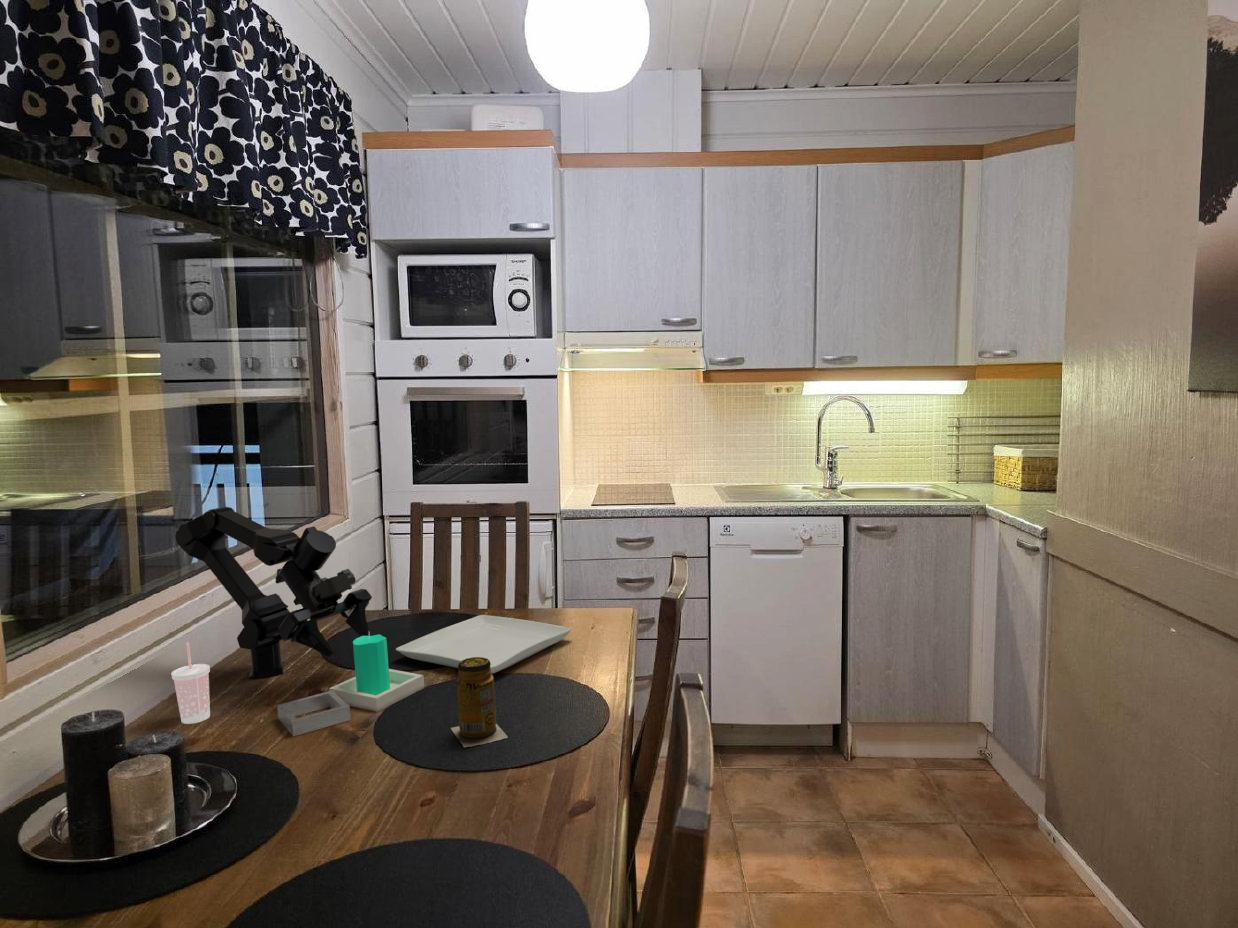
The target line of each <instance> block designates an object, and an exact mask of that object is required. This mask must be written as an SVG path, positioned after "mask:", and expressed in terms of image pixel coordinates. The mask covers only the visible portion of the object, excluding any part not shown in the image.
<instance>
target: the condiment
mask: <svg viewBox="0 0 1238 928" xmlns="http://www.w3.org/2000/svg"><path fill="white" fill-rule="evenodd" d="M490 665H491V664H490V661H489V660H488V659H487V658H483V657H472V658H467V659H464V660H462V661H461V662H460V663H459V665H458V668H457V669H458V673H457V676H458V678H457V680H456V691H457V693H456V695H457V707H458V708H457V711H458V722H459V723H458V724H459V725H458V726H454V727H450V729H451V731H452V732H453V734H454V735H455V737H456V738H457V739H458V741H459V742H460V744H461V745H462V747H463V748H468V747H470V748H471V747H475V746H478V745H479V746H480V745H481V746H482V745H485V744H488V743H489V744H490V743H494V742H495V741H501V740H504V739H505V740H506V739H508V738H509V737H508V735H507V734H506V732H505V731H503V729H502V728H501V727H500V726H499V725H498V723H497V707H496V697H495V696H496V695H495V694H496V693H495V689H496V687H495V680H494V679H495V678H494V675H493V673H492V674H491V668H490Z"/></svg>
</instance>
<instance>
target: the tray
mask: <svg viewBox="0 0 1238 928" xmlns="http://www.w3.org/2000/svg"><path fill="white" fill-rule="evenodd" d="M389 678H390V689H389V690H387V691H385V692H383V693H381V694H378V695H372V694H367V693H362V692H357V687H356V676H354V677H352V678H349V679H347V680H345V681H342V682H341V683H338V684H335V685H334V686H332V687H331V686H330V687H329V688H328V692H329V691H333V692H334V693H336V694H337V695H338V696H339V697H340V698H341V699H342V700H343V701H344V702H346V703H347V704H348V705H349V706H350V707H354V708H359V709H362V710H367V711H371V712H375V713H377V712H381V711H382V710H383V709H386V708H388V707H390V706H392V705H393V704H396V703H397V702H399V701H400V702H401V700H403V699H405V698H407V697H409V696H412V695H413V694H415V693H417V692H419V691H421V690H423V689H425V680H424V679H425V676H424V674H419V673H413V672H409V671H403V670H397V669H392V668H389Z"/></svg>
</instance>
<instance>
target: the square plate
mask: <svg viewBox="0 0 1238 928" xmlns="http://www.w3.org/2000/svg"><path fill="white" fill-rule="evenodd" d="M572 630H573V627H569V626H564V625H556V624H552V623H551V624H550V623H546V622H540V621H534V620H533V621H532V620H526V619H520V618H513V617H505V616H497V615H487V614H480V615H477V616H473V617H472V618H469V619H466V620H463V621H461V622H458V623H455V624H452V625H449V626H446V627H443V628H441V629H438V630H435V631H433V632H431V633H428V634H426V635H424V636H421V637H419V638H416V639H414V640H411V641H409V642H407V643H405V644H403V645H400V646H398V647H396V648H395V651H397V652H399V653H400V654H401V655H403V656H405V657H407V658H409V659H413V660H417V661H421V662H425V663H432V664H436V665H442V666H445V667H450V668H451V667H452V668H455V669H458V665H459V663H460V662H461V661H462V660H464V659H467V658H472V657H483V658H487V659H488V660H489V661H490V664H491V665H490V668H491V674H492V675H493V674H495V673H498V672H500V671H503V670H505V669H507V668H510V667H511V666H513V665H515V664H517V663H519V662H521V661H523V660H525V659H526V658H529V657H531V656H533V655H535V654H536V653H539V652H541V651H543V650H544V649H547V648H548V647H550V646H552V645H555V644H556V643H558V642H560V641H562V640H563V639H564V638H566V637H567V636H568V635H569V634H570V632H571V631H572Z"/></svg>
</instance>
